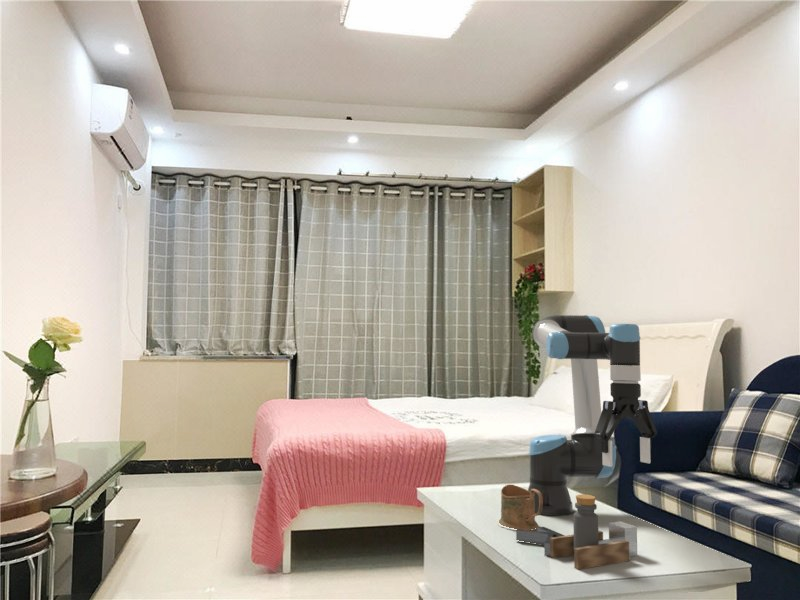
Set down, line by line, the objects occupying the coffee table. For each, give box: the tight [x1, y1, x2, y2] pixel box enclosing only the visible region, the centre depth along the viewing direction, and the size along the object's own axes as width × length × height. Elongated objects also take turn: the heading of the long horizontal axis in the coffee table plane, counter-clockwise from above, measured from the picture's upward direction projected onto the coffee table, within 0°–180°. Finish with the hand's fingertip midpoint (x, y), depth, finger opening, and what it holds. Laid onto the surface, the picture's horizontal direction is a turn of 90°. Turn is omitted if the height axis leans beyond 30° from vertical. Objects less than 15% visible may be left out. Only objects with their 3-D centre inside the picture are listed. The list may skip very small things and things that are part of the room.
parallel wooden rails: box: [549, 530, 630, 570], centre depth 151 cm, size 16×10×4 cm, turn 115°
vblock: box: [515, 526, 566, 557], centre depth 160 cm, size 9×14×3 cm, turn 25°
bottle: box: [573, 493, 599, 548], centre depth 151 cm, size 6×6×15 cm
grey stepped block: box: [599, 520, 638, 558], centre depth 155 cm, size 10×6×7 cm, turn 115°
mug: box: [498, 484, 543, 531], centre depth 177 cm, size 12×18×12 cm, turn 22°
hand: (626, 464), depth 161 cm, fingers open, 13 cm apart
